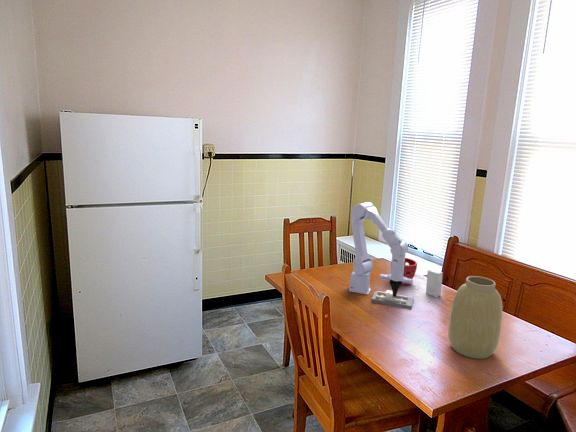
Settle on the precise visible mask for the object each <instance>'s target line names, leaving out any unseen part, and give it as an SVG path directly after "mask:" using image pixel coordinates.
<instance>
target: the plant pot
mask: <svg viewBox="0 0 576 432" xmlns="http://www.w3.org/2000/svg"><path fill="white" fill-rule="evenodd" d="M406 263H407V264H406ZM391 264H392V260H391V263H390V265H391ZM417 269H418V262H417V261H416V260H414V259H411V258H407V257H405V263H404V273H403V277H406V278H410V279H413V278H414V277H415V275H416V272H417ZM413 280H414V279H413ZM396 282H397V281H396ZM409 285H411V284H410V283H404V282H402V284H401V286H409Z"/></svg>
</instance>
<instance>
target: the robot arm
mask: <svg viewBox="0 0 576 432" xmlns="http://www.w3.org/2000/svg"><path fill="white" fill-rule="evenodd" d="M351 210H352V214H351V217H350V224H351V231H352V236H353V237H352V238H353V243H354V249H355V257H354V259H353V266H352V267H353V268H352V269H353V271H352V272H351V274H350V277H349V289H348V291H349V292H352V293H357V294H363V295H369V294H370V292H371V290H372V288H371V287H370V281H371V274H372V271H373V269H374V267H375V265H374V262H373V261H372V260H373V259H372V257H371V255H370V254H368V249H367V243H366V236H365V230H364V223H363V222H364V221H365V220H371V221H372V223H373V224H374V225H375V226H376V227H377V229H378V230H379V231H381V232H380V233H381V237H382V239H383V240H384V241H385V243H386V244H387V245H388V246H389V248H390V253H391V255H392V256H391V261H392V264H391V263H390V273H389V274H386V273H385V274H384V273H380V275H379V276H380V278H379V279H380V280H388V281H389V285H390V287H391V291H393V296H395V297H396V295H398V291H399V289H400V287H401V286H402V285H401V284H402V282H404V283H410V284H409V285H413V282H414V279H410V278H406V277H403V273H404V263H405V258H406V254H407V253H408V251H409V246H408V244H407V242H405V241H402V239H400V237H399V236H398V235H397V234H396V231H395V230H393V228H389V227H388V225H387V224H386V223H385V221H384V219H383V218H382V217H381V215H380V214H379V212H378V209H377V207H376V206H375V205H374V204H373V203H372V202H371V201H366V202H363V203H357V204H355V205H354V206H353V207H352V208H351ZM405 264H406V263H405ZM396 281H397V282H396Z"/></svg>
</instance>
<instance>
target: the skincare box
mask: <svg viewBox="0 0 576 432" xmlns="http://www.w3.org/2000/svg"><path fill="white" fill-rule="evenodd" d="M443 274H444V272H442V271H440V270H436V269H433V268H431V269H429V270H427V274H426V275H427V276H426V288H425V293H426V294H427V295H429V296H432V297H436V298H437V297H440V296H441V295H442V285H443V284H442V283H443Z"/></svg>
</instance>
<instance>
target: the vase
mask: <svg viewBox="0 0 576 432" xmlns="http://www.w3.org/2000/svg"><path fill="white" fill-rule="evenodd" d="M496 285H497V283H496V282H495V281H494V280H493V279H490V278H488V277H484V276H480V275H479V276H476V275H469V276H467V277H466V278H465V283H463V284H462V285H461V286H459V287H458V289H457V290H456V292H455V294H454V298H453V301H452V304H451V308H450V309H451V310H450V314H449V321H448V331H447V336H448V340H449V343H450V346H451V348H452V349H453V350H454V351H456V353H458V354H460V355H462V356H465V357H467V358H472V359H479V360H481V359H482V360H483V359H487V358H490V357H491V356H492V355H493V354H494V353H495V351H496V350H497V348H498V346H499V342H500V338H501V337H500V336H501V333H502V332H501V330H502V322H503V299H502V297H501V294H500V293H499V292H498V290H497V289H496Z"/></svg>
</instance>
